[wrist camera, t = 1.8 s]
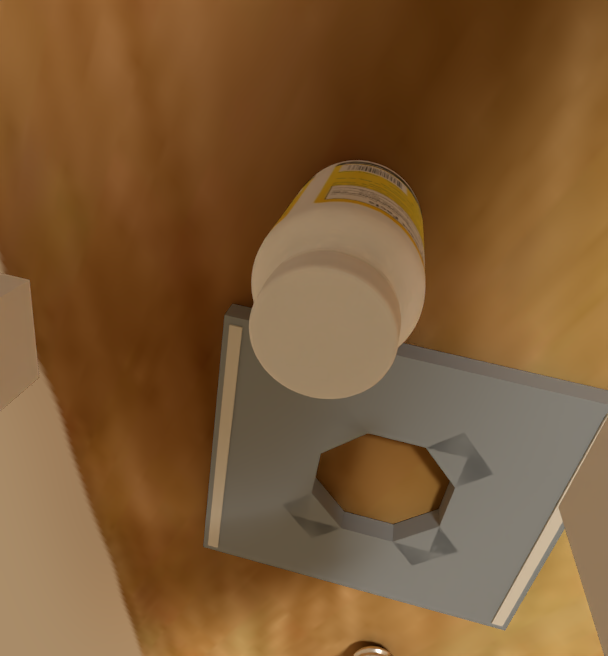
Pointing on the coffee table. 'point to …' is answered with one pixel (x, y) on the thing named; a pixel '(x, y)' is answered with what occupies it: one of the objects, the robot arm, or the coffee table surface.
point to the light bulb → (372, 651)
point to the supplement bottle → (339, 281)
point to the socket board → (414, 428)
